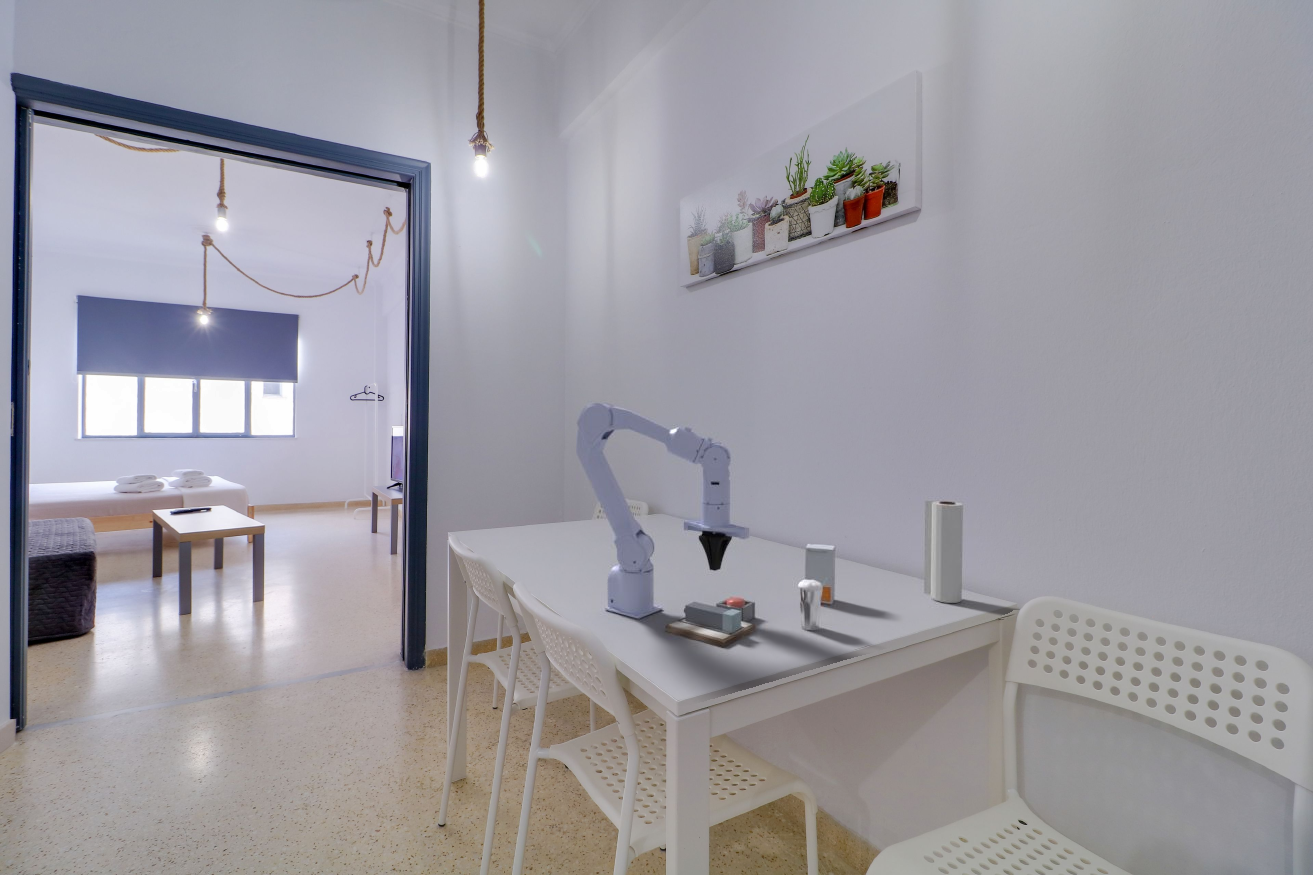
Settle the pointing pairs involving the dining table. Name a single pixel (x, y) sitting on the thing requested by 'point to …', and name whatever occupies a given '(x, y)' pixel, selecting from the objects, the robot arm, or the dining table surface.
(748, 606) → the button housing
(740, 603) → the button
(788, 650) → the dining table surface
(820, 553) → the skincare box
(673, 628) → the brown flat wooden board
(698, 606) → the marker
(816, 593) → the milkshake
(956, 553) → the paper towel roll
